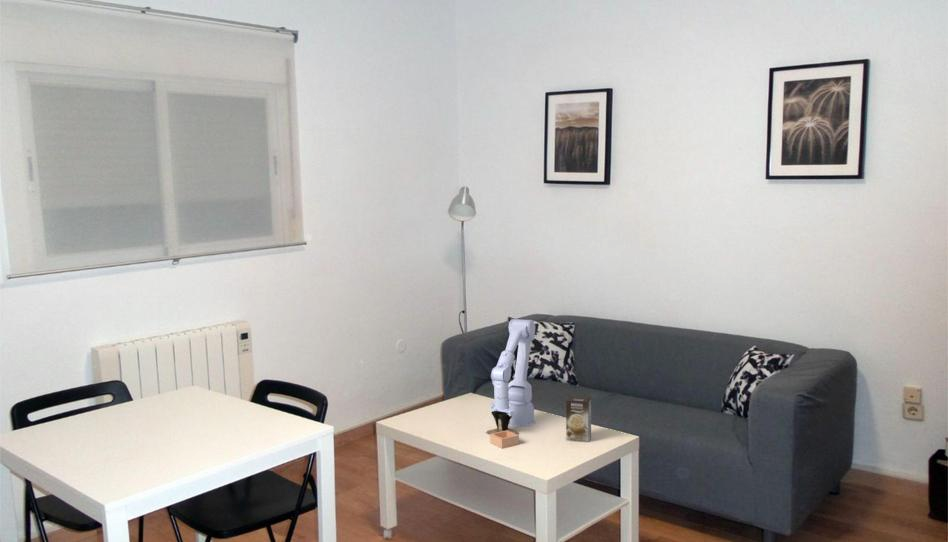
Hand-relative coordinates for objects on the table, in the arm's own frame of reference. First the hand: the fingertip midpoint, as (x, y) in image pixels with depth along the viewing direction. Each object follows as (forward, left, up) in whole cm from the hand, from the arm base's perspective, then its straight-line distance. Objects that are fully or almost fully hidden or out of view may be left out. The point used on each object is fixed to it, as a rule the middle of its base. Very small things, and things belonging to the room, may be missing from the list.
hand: (502, 429), depth 309 cm
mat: (0, 0, -2) cm, 2 cm away
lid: (0, 0, -2) cm, 2 cm away
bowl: (+7, +11, -2) cm, 13 cm away
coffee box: (-20, +23, -2) cm, 31 cm away
